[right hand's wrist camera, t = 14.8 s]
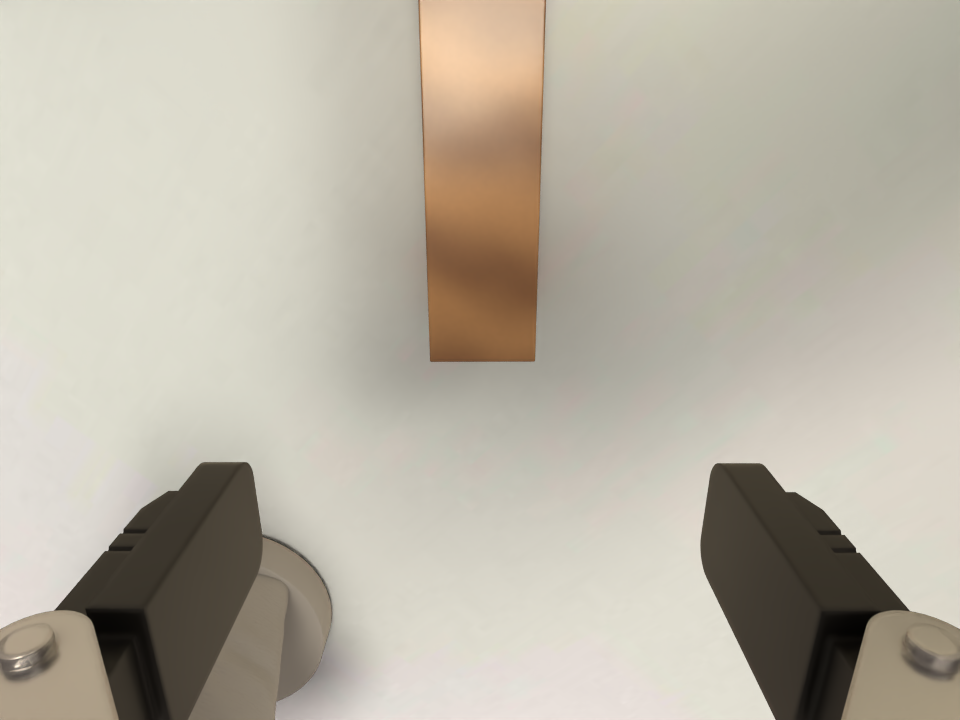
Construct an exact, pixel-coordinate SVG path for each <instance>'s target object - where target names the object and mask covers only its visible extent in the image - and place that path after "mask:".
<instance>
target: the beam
mask: <svg viewBox="0 0 960 720" xmlns="http://www.w3.org/2000/svg"><path fill="white" fill-rule="evenodd" d="M418 2H419V33H420V64H421V95H422V126H423V157H424V187H425V218H426V249H427V280H428V311H429V341H430V361H431V362H501V361H535V343H536V310H537V277H538V244H539V211H540V178H541V145H542V112H543V79H544V46H545V13H546V0H418Z"/></svg>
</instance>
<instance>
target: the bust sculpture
mask: <svg viewBox="0 0 960 720" xmlns="http://www.w3.org/2000/svg"><path fill="white" fill-rule="evenodd" d="M262 538H263V552H262V560H261V565H260V569H259V572H258V574H257V577H256V579H255V581H254V583H253V585H252V587H251V589H250V591H249V593H248V596H247V598H246V600H245V602H244V604H243V606H242V608H241V610H240V612H239V614H238V616H237V618H236V621H235V623H234V625H233V627H232V629H231V631H230V633H229V635H228V637H227V639H226V641H225V643H224V646H223V648H222V650H221V652H220V654H219V656H218V658H217V660H216V662H215V664H214V666H213V668H212V671H211V673H210V675H209V677H208V679H207V681H206V683H205V685H204V687H203V689H202V691H201V693H200V696H199V698H198V700H197V702H196V704H195V706H194V708H193V710H192V712H191V714H190V716H189V718H188V720H275V710H276V701H279V700H281V699H284V698H286V697H288V696H290V695H291V694H293V693H295V692H296V691H297V690H299V689H300V688H301V687H303V686H304V685H305V684H306V683H307V682H308V681H309V680H310V678H311V677H312V676H313V674H314V673H315V671H316V670H317V668H318V666H319V663H320V661H321V658H322V654H323V651H324V647H325V644H326V640H327V637H328V633H329V630H330V626H331V619H332V611H331V603H330V599H329V596H328V593H327V590H326V588H325V586H324V584H323V582H322V580H321V579H320V577H319V576H318V574H317V573H316V572H315V571H314V570H313V568H312V567H311V566H310V565H309V564H308V563H307V562H306V561H305V560H304V559H302V558H301V557H300V556H299V555H297V554H296V553H294V552H293V551H291V550H290V549H288V548H287V547H285V546H283V545H281V544H279V543H277V542H275V541H272V540H270V539H267V538H264V537H262Z"/></svg>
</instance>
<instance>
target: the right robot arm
mask: <svg viewBox="0 0 960 720" xmlns="http://www.w3.org/2000/svg"><path fill="white" fill-rule="evenodd" d="M262 552H263V538H262V530H261V524H260V517H259V510H258V503H257V496H256V489H255V482H254V476H253V471H252V468H251V466H250V465H249V464H248V463H246V462H204V463H201V464H200V465H199V466H198V467H197V468H196V469H195V471H194V472H193V473H192V474H191V476H190V477H189V478H188V479H187V481H186V482H185V483H184V485H183V486H182V487H181V488H180V490H179V491H168V492H166V493H165V494H163V495H162V496H160V497H159V498H157V499H155V500H154V501H152V502H151V503H149V504H148V505H146V506H145V507H143V508H142V509H141V510H140V511H139V512H138V513H137V514H136V515H135V517H134V518H133V519H132V520H131V521H130V522H129V524H128V525H127V526H126V527H125V528H124V532H123V534H119V535H118V537H117V538H116V539H115V540H114V541H113V542H112V544H111V545H110V546H109V550H108V551H105V552H104V553H103V554H102V555H101V556H100V558H99V559H98V560H97V561H96V562H95V564H94V565H93V566H92V567H91V568H90V569H89V571H88V572H87V573H86V574H85V575H84V576H83V578H82V579H81V580H80V581H79V582H78V583H77V585H76V586H75V587H74V588H73V589H72V591H71V592H70V593H69V594H68V595H67V596H66V598H65V599H64V600H63V601H62V602H61V603H60V605H59V606H58V607H57V608H56V609H55V610H54V611H49V612H44V613H39V614H35V615H32V616H29V617H26V618H23V619H21V620H18V621H16V622H13V623H11V624H9V625H7V626H6V627H4V628H2V629H0V720H188V718H189V716H190V714H191V712H192V710H193V708H194V706H195V704H196V702H197V700H198V698H199V696H200V693H201V691H202V689H203V687H204V685H205V683H206V681H207V679H208V677H209V675H210V673H211V671H212V668H213V666H214V664H215V662H216V660H217V658H218V656H219V654H220V652H221V650H222V648H223V646H224V643H225V641H226V639H227V637H228V635H229V633H230V631H231V629H232V627H233V625H234V623H235V621H236V618H237V616H238V614H239V612H240V610H241V608H242V606H243V604H244V602H245V600H246V598H247V596H248V593H249V591H250V589H251V587H252V585H253V583H254V581H255V579H256V577H257V574H258V572H259V569H260V565H261V560H262ZM701 559H702V565H703V569H704V572H705V575H706V577H707V579H708V581H709V584H710V586H711V588H712V590H713V592H714V594H715V596H716V598H717V600H718V602H719V604H720V606H721V608H722V610H723V612H724V614H725V616H726V618H727V621H728V623H729V625H730V627H731V629H732V631H733V633H734V635H735V637H736V639H737V641H738V643H739V645H740V647H741V649H742V651H743V653H744V656H745V658H746V660H747V662H748V664H749V666H750V668H751V670H752V672H753V674H754V676H755V678H756V680H757V682H758V684H759V686H760V688H761V691H762V693H763V695H764V697H765V699H766V701H767V703H768V705H769V707H770V709H771V711H772V713H773V715H774V717H775V719H776V720H960V629H958V628H956V627H954V626H953V625H951V624H949V623H946V622H944V621H942V620H939V619H937V618H934V617H931V616H928V615H925V614H921V613H916V612H911V611H909V609H908V608H907V607H906V606H905V605H904V604H903V602H902V601H901V600H900V599H899V598H898V597H897V596H896V594H895V593H894V592H893V591H892V590H891V589H890V587H889V586H888V585H887V584H886V583H885V582H884V580H883V579H882V578H881V577H880V576H879V575H878V573H877V572H876V571H875V570H874V569H873V568H872V566H871V565H870V564H869V563H868V562H867V561H866V559H865V558H864V557H863V556H862V555H861V554H860V553H856V548H855V547H854V546H853V544H852V543H851V542H850V541H849V540H848V539H847V537H846V536H845V535H841V530H840V529H839V528H838V527H837V526H836V525H835V523H834V522H833V521H832V520H831V519H830V518H829V516H828V515H827V514H826V513H825V512H824V511H823V510H822V509H821V508H819V507H817V506H816V505H814V504H813V503H811V502H810V501H808V500H807V499H805V498H803V497H802V496H800V495H799V494H797V493H796V492H785V491H784V489H783V488H782V487H781V486H780V484H779V483H778V482H777V481H776V479H775V478H774V477H773V476H772V474H771V473H770V472H769V471H768V469H767V468H766V467H765V466H764V465H762V464H760V463H718V464H715V465H714V467H713V468H712V471H711V474H710V480H709V487H708V493H707V500H706V507H705V514H704V520H703V527H702V534H701Z"/></svg>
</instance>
